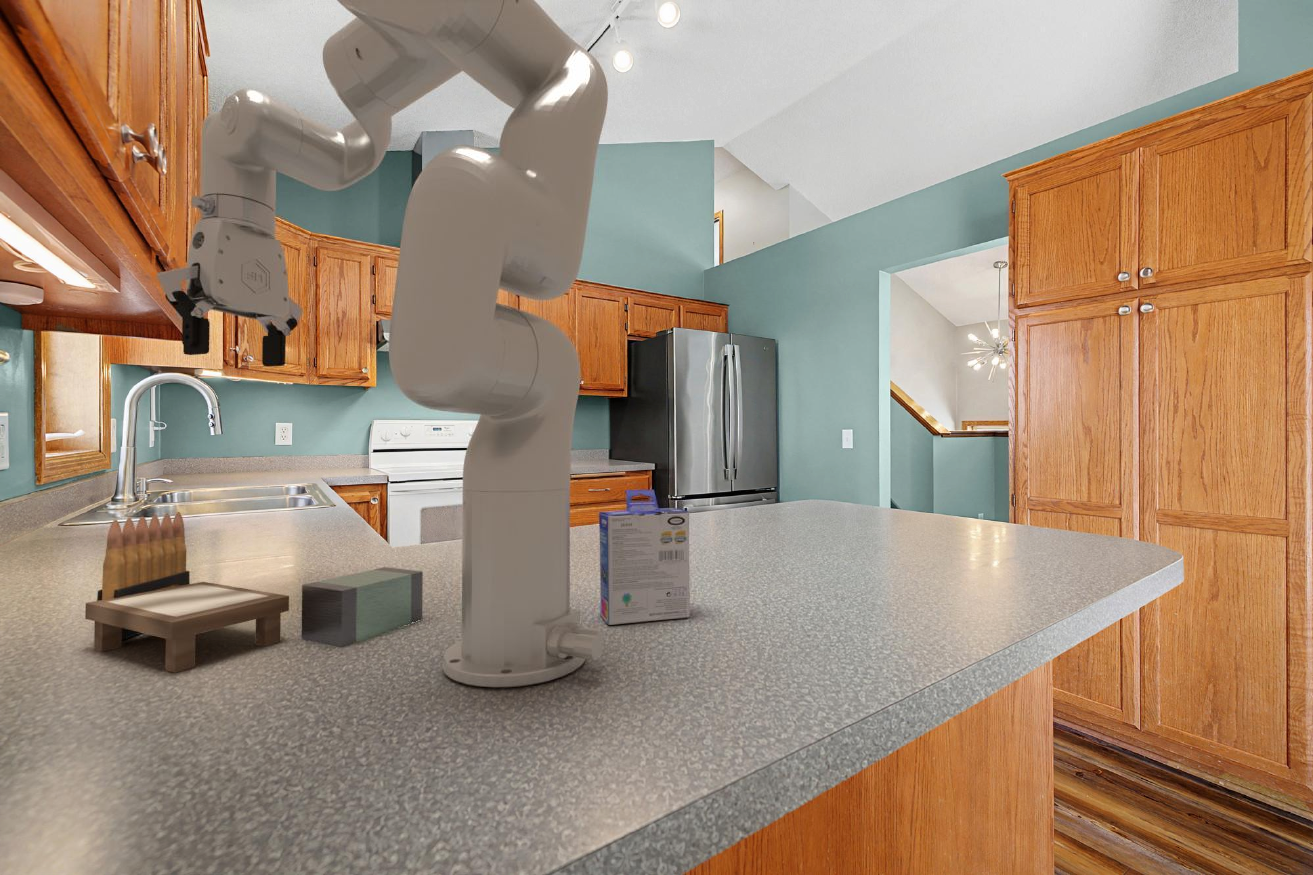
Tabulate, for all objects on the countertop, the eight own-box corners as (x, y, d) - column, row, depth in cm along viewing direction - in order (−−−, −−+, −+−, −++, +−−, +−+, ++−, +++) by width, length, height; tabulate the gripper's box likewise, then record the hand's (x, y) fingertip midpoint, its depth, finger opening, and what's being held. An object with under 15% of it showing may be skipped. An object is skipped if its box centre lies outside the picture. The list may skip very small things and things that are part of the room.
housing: (422, 620, 66) (422, 571, 66) (341, 647, 57) (342, 590, 57) (384, 614, 68) (385, 567, 68) (301, 639, 59) (302, 585, 59)
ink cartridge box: (676, 606, 72) (675, 488, 72) (692, 618, 66) (692, 491, 67) (597, 613, 68) (597, 489, 69) (608, 627, 63) (608, 493, 63)
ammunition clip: (114, 642, 57) (117, 520, 58) (93, 643, 57) (97, 520, 58) (190, 614, 68) (192, 511, 69) (173, 614, 68) (175, 511, 68)
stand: (288, 640, 59) (289, 595, 59) (171, 675, 50) (172, 621, 50) (202, 622, 65) (203, 581, 65) (84, 650, 56) (85, 602, 56)
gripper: (186, 188, 63) (184, 346, 62) (321, 243, 79) (320, 368, 79) (138, 197, 65) (135, 350, 64) (279, 248, 81) (278, 371, 81)
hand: (237, 360), depth 72 cm, fingers open, 9 cm apart
